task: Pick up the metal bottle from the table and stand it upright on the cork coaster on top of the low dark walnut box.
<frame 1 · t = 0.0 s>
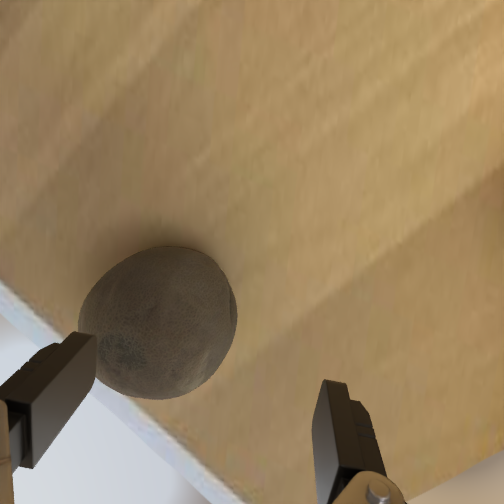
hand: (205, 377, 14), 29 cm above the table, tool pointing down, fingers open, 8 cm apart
cantaloupe: (183, 286, 45), on the table
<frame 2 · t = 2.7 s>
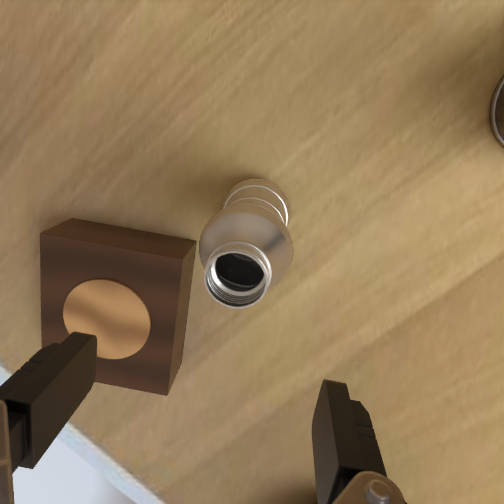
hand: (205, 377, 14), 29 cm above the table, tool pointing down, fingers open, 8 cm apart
metal bottle: (258, 205, 41), on the table
walnut box: (129, 294, 45), on the table
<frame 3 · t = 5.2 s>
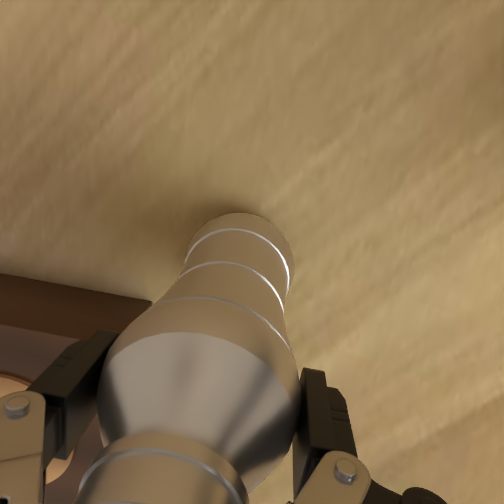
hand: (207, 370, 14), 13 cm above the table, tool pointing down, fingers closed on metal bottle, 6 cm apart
metal bottle: (244, 251, 27), on the table, touching gripper
walnut box: (58, 374, 31), on the table
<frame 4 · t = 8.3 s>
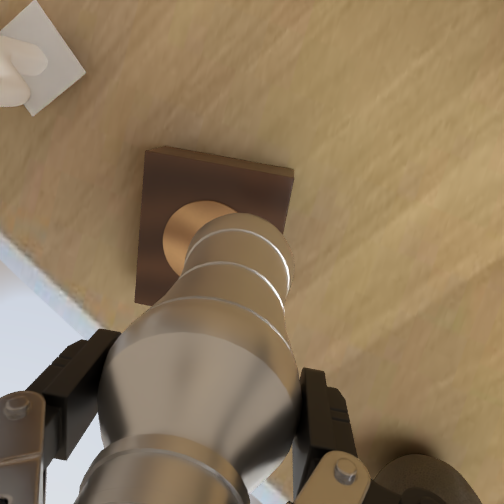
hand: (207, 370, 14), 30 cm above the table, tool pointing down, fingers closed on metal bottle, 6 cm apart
figurine: (57, 65, 40), on the table
cantaloupe: (405, 469, 53), on the table
metal bottle: (244, 251, 27), point 17 cm above the table, touching gripper
walnut box: (218, 228, 44), on the table
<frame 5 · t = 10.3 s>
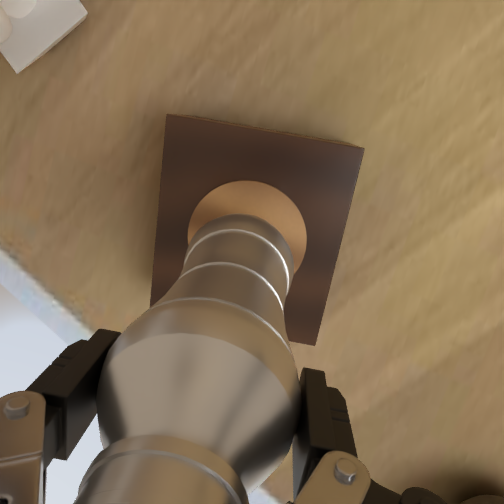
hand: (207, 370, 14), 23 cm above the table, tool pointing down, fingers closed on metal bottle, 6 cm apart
figurine: (49, 11, 31), on the table
metal bottle: (244, 251, 27), point 9 cm above the table, touching gripper
walnut box: (252, 220, 35), on the table
when the fingers open (20 cm above the table, at t = 11.8 s): metal bottle stays where it is, resting on walnut box.
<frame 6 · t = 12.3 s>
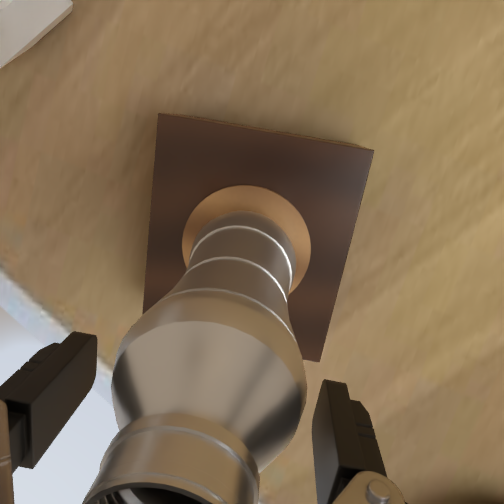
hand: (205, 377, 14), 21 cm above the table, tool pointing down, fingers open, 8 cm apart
figurine: (33, 3, 29), on the table
metal bottle: (247, 248, 27), point 6 cm above the table, touching walnut box
walnut box: (252, 227, 33), on the table
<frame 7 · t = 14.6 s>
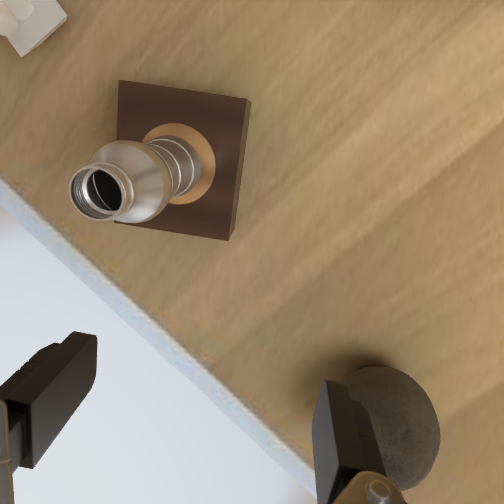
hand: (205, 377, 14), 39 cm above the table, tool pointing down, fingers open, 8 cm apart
figurine: (42, 16, 46), on the table
cantaloupe: (367, 386, 58), on the table
metal bottle: (177, 164, 44), point 6 cm above the table, touching walnut box
walnut box: (188, 160, 50), on the table
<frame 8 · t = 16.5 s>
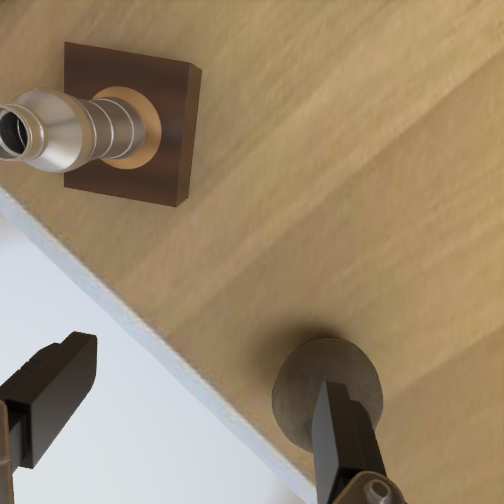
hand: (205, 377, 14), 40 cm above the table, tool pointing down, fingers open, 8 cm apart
cantaloupe: (321, 359, 59), on the table
metal bottle: (123, 128, 44), point 6 cm above the table, touching walnut box
walnut box: (141, 128, 50), on the table
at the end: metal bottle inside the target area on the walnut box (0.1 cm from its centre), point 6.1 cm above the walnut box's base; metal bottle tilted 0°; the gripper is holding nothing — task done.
